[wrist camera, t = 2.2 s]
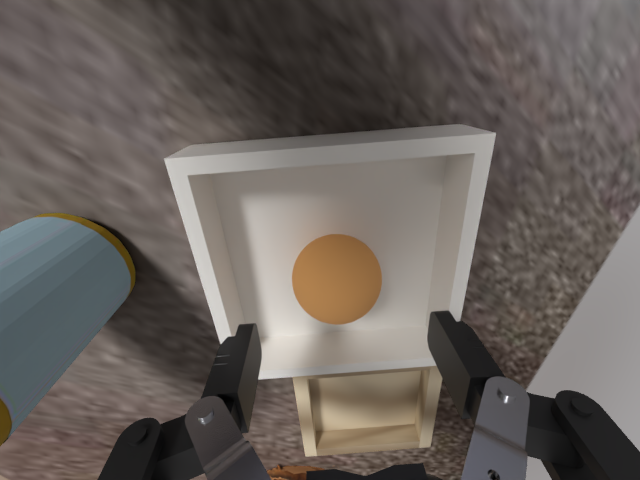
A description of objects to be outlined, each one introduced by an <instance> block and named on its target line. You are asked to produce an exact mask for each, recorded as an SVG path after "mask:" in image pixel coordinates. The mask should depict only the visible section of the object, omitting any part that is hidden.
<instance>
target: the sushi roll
mask: <svg viewBox="0 0 640 480" xmlns="http://www.w3.org/2000/svg"><path fill="white" fill-rule="evenodd" d="M316 470H324V469H322V468H317V467H310V466H285V467H282V468H280V466H279V465H278V468H274V469H272V470H267V473H268V474H269V476H270V478H271V480H306V471H316Z"/></svg>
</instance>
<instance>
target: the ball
mask: <svg viewBox="0 0 640 480" xmlns="http://www.w3.org/2000/svg"><path fill="white" fill-rule="evenodd" d="M292 286H293V291H294V294H295V297H296V299H297V301H298V302H299V304H300V306H301V307H302V308H303V309H304V310H305V311H306V312H307V313H308V314H309V315H310V316H312V317H313V318H315V319H317V320H319V321H321V322H324V323H328V324H335V325H340V324H347V323H351V322H354V321H356V320H358V319H360V318H361V317H363V316H364V315H366V314H367V313H368V312H369V311H370V310H371V308H372V307H373V306H374V305H375V303H376V301H377V299H378V297H379V295H380V291H381V286H382V273H381V268H380V265H379V262H378V260H377V258H376V256H375V255H374V253H373V252H372V251H371V249H370V248H369V247H368V246H367V245H366V244H364V243H363V242H361V241H360V240H358V239H356V238H354V237H351V236H348V235H344V234H330V235H325V236H322V237H319V238H317V239H315V240H313V241H312V242H310V243H309V244H308V245H307V246H306V247H305V248H304V249H303V250H302V251H301V252H300V254H299V255H298V257H297V259H296V261H295V264H294V267H293V272H292Z"/></svg>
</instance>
